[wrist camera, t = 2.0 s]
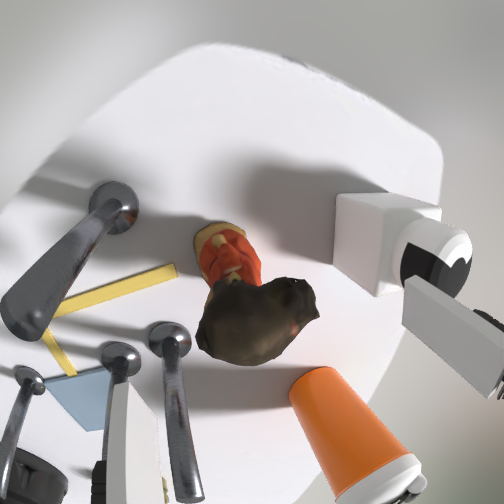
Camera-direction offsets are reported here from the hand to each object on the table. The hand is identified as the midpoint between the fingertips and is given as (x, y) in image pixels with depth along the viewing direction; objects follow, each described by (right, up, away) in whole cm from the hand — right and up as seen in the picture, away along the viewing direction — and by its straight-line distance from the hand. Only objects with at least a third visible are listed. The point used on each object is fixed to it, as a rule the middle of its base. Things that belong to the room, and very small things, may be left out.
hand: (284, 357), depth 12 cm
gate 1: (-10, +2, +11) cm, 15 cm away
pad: (-19, -12, +14) cm, 27 cm away
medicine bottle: (+10, +7, +16) cm, 20 cm away
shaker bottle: (+6, -13, +22) cm, 26 cm away
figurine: (-4, +4, +13) cm, 14 cm away
